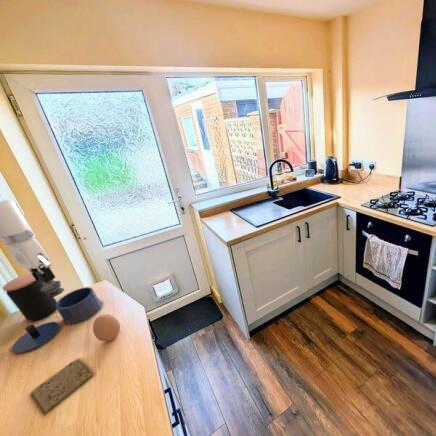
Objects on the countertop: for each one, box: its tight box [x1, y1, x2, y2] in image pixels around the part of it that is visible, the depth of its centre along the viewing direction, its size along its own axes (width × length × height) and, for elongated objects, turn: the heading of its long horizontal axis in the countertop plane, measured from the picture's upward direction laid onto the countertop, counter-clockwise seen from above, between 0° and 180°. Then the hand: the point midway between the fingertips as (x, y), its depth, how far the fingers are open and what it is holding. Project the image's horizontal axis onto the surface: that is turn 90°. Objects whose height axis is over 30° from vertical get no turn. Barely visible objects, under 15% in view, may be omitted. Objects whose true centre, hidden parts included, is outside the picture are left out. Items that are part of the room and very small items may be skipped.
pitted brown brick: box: [31, 359, 92, 414], centre depth 77 cm, size 12×12×1 cm
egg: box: [92, 313, 121, 342], centre depth 90 cm, size 8×8×11 cm
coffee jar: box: [2, 272, 58, 322], centre depth 105 cm, size 11×11×18 cm
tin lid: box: [12, 321, 61, 354], centre depth 95 cm, size 14×14×6 cm
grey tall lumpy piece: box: [36, 271, 65, 298], centre depth 91 cm, size 6×6×12 cm
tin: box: [55, 286, 102, 325], centre depth 105 cm, size 13×13×8 cm
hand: (46, 279), depth 91 cm, fingers closed on grey tall lumpy piece, 3 cm apart
